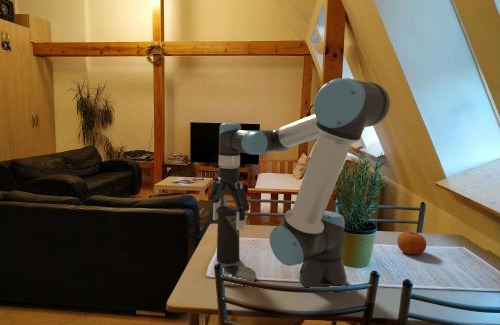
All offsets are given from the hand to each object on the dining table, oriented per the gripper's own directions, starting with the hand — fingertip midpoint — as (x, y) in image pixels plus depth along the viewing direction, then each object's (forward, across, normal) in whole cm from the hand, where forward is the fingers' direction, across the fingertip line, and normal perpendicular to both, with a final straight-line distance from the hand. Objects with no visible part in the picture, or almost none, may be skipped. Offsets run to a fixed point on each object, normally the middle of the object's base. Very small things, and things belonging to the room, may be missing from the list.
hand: (227, 224), depth 127 cm
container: (+14, 0, 0) cm, 14 cm away
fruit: (+13, -42, -61) cm, 75 cm away
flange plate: (+13, -14, +7) cm, 20 cm away
